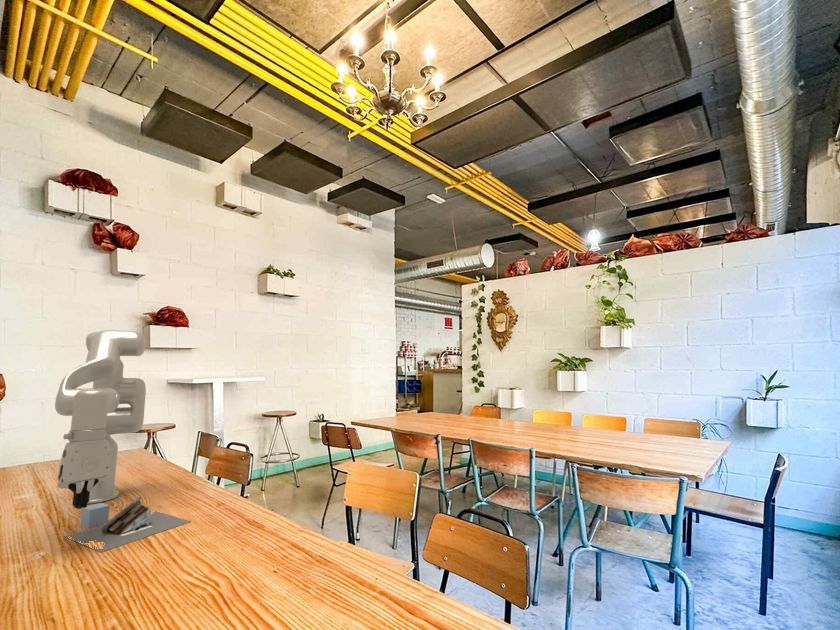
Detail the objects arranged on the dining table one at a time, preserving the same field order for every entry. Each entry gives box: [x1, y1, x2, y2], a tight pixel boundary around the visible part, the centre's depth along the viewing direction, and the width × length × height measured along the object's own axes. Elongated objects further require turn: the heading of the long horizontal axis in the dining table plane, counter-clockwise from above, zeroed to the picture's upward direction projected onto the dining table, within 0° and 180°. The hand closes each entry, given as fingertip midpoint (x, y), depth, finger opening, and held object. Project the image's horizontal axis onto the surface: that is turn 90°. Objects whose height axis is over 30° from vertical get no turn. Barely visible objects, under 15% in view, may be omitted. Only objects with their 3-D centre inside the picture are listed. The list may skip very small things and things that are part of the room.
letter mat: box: [63, 510, 192, 553], centre depth 120 cm, size 20×24×1 cm
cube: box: [79, 502, 111, 529], centre depth 124 cm, size 5×5×5 cm
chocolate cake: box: [102, 496, 152, 534], centre depth 121 cm, size 10×7×12 cm
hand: (80, 507), depth 109 cm, fingers closed
